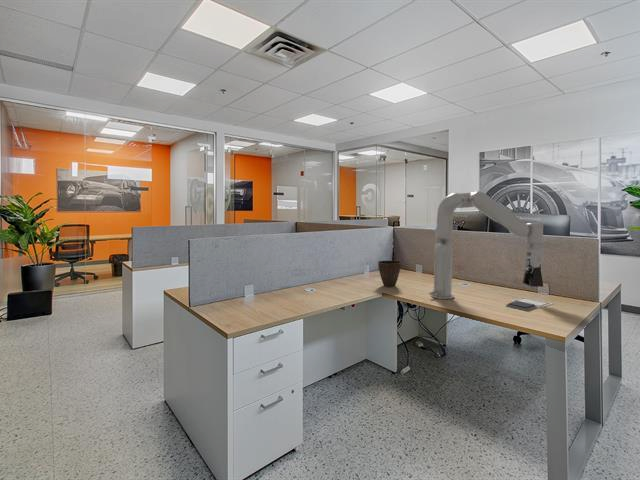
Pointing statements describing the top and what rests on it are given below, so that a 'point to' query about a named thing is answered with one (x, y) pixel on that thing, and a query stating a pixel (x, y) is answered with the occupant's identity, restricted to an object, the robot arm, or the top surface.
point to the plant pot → (389, 272)
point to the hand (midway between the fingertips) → (532, 279)
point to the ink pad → (521, 305)
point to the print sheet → (533, 302)
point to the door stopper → (534, 278)
